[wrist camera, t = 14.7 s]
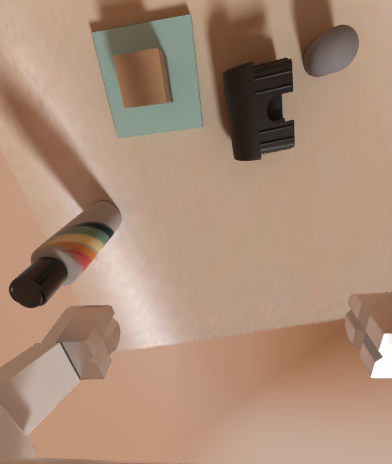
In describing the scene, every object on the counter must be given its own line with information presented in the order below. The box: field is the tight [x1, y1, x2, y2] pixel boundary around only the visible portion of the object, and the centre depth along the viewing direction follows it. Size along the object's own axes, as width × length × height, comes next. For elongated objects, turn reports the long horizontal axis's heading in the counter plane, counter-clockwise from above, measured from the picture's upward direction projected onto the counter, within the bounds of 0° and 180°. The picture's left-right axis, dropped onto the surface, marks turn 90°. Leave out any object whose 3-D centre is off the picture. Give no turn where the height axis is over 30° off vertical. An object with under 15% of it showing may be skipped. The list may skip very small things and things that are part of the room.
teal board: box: [92, 14, 203, 138], centre depth 32 cm, size 12×12×1 cm
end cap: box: [223, 58, 295, 161], centre depth 31 cm, size 10×7×7 cm
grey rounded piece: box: [303, 25, 359, 77], centre depth 28 cm, size 4×4×5 cm
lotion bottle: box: [9, 201, 121, 308], centre depth 34 cm, size 6×6×20 cm
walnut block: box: [113, 48, 173, 108], centre depth 30 cm, size 5×5×5 cm
